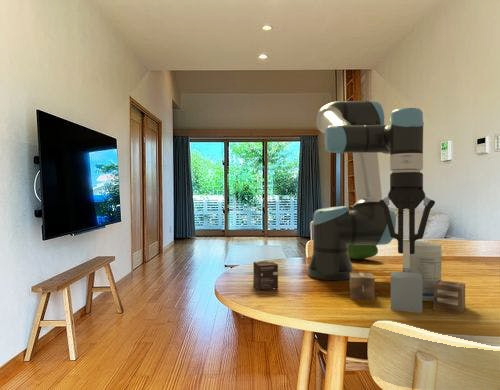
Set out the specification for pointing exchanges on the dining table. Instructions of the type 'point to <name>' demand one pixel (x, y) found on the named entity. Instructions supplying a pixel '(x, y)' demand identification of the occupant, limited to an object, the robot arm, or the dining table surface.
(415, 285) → the plain block
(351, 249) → the fruit
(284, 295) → the dining table surface
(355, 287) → the marked cube left
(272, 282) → the box
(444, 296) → the marked cube right
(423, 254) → the supplement tub
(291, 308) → the dining table surface
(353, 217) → the robot arm
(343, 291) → the dining table surface
